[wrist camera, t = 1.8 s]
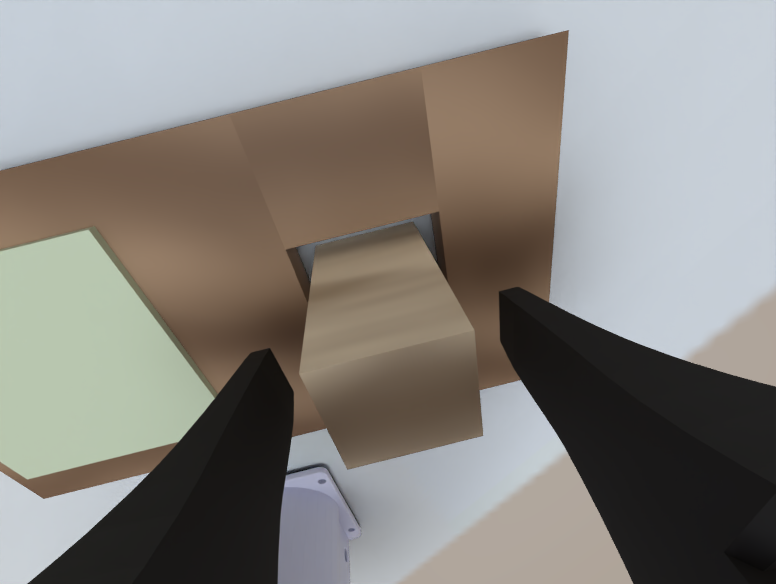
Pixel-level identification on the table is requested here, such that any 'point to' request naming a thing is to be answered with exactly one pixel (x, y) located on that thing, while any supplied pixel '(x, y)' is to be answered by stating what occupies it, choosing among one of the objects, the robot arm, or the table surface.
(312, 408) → the walnut pocket board
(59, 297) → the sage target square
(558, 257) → the table surface
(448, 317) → the maple block
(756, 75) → the table surface
